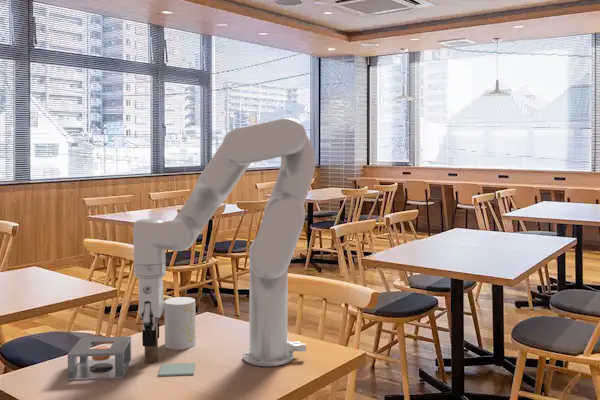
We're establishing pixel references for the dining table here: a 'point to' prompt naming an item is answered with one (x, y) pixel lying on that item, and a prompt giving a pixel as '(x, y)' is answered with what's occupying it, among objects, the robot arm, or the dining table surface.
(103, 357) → the breaker plunger
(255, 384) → the dining table surface
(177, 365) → the mat
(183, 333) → the cup
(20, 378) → the dining table surface
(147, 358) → the brown wooden rod
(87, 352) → the guard cage
